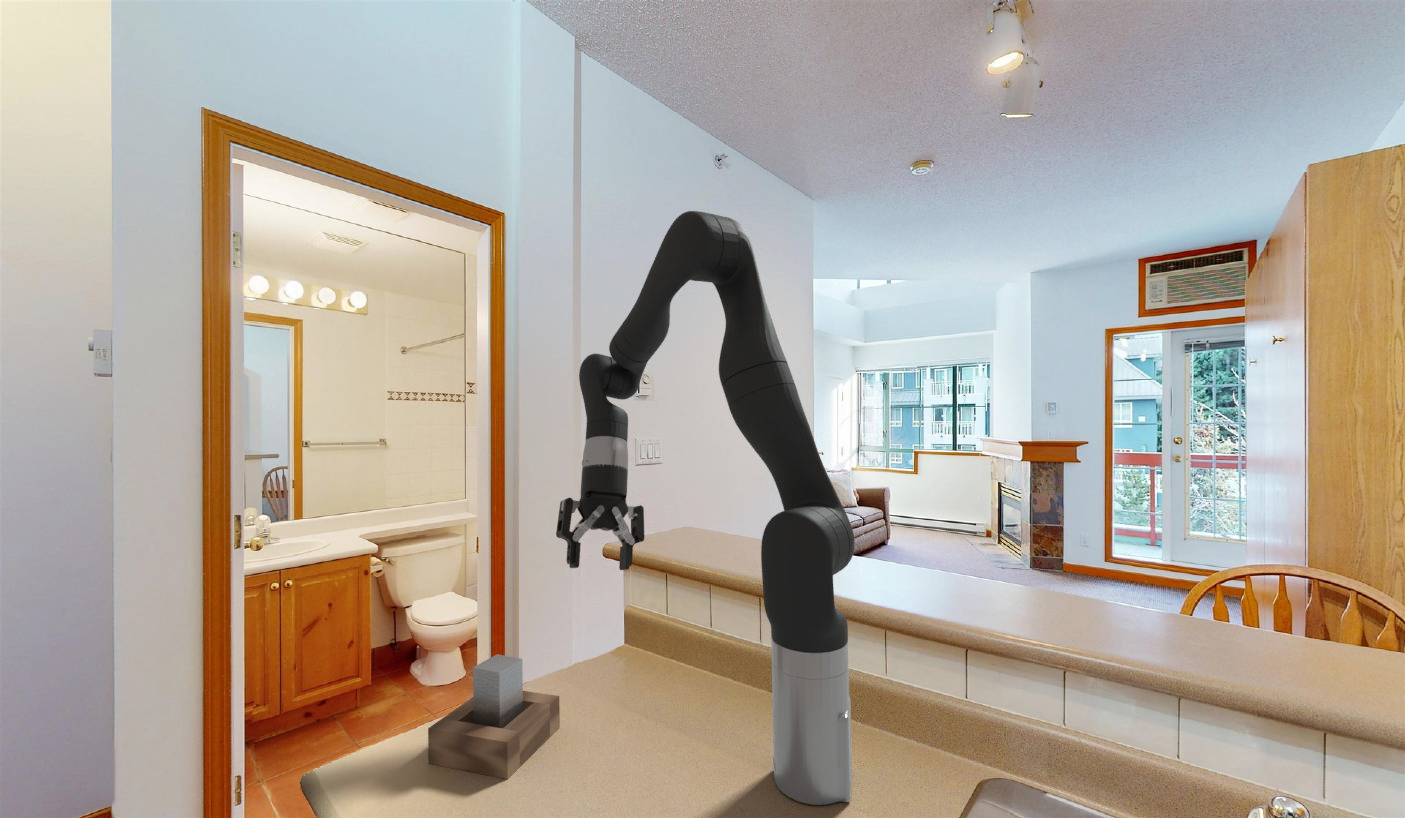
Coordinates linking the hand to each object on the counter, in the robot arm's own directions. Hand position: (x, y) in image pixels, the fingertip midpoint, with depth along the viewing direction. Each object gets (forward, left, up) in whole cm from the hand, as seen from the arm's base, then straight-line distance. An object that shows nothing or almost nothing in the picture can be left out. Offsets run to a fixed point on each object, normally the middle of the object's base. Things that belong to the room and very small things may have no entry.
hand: (599, 568), depth 88 cm
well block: (+9, +14, -21) cm, 26 cm away
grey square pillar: (+9, +14, -21) cm, 26 cm away
